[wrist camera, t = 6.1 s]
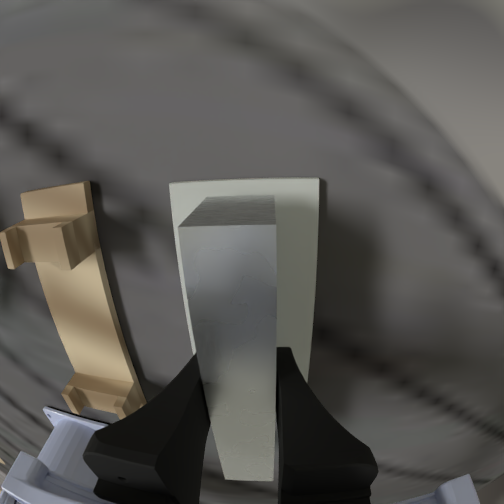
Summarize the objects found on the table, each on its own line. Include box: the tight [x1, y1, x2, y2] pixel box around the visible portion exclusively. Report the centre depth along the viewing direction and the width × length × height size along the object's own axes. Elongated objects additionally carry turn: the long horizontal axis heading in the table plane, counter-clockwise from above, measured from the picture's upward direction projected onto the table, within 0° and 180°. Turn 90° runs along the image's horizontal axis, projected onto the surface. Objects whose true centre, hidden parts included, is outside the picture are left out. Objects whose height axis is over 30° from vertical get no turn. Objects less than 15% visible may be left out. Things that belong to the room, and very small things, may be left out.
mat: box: [169, 178, 319, 419], centre depth 16 cm, size 15×6×1 cm, turn 2°
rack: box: [0, 181, 147, 420], centre depth 15 cm, size 16×5×3 cm, turn 2°
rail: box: [178, 195, 277, 481], centre depth 12 cm, size 14×3×4 cm, turn 2°
